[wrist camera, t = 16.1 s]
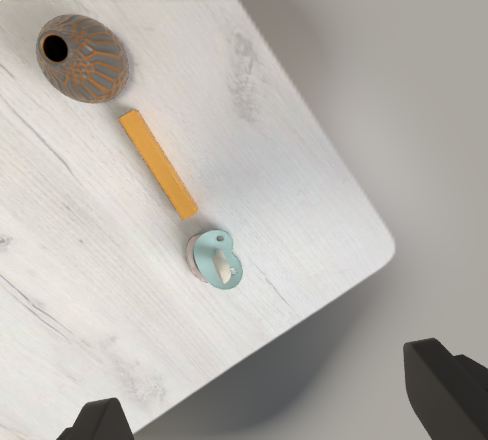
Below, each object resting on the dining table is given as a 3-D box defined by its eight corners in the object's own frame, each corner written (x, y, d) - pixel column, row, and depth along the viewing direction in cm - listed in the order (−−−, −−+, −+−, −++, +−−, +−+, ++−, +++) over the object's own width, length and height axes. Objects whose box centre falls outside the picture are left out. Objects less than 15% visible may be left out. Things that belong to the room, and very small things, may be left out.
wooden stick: (123, 118, 33) (117, 118, 31) (137, 110, 33) (132, 109, 31) (184, 215, 36) (182, 220, 35) (198, 208, 36) (196, 212, 34)
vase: (98, 12, 30) (47, -31, 22) (151, 72, 32) (122, 53, 24) (51, 64, 31) (-15, 42, 23) (104, 119, 33) (60, 118, 25)
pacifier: (200, 288, 39) (246, 274, 39) (192, 318, 33) (247, 302, 33) (178, 235, 37) (226, 219, 37) (165, 257, 31) (223, 238, 31)
